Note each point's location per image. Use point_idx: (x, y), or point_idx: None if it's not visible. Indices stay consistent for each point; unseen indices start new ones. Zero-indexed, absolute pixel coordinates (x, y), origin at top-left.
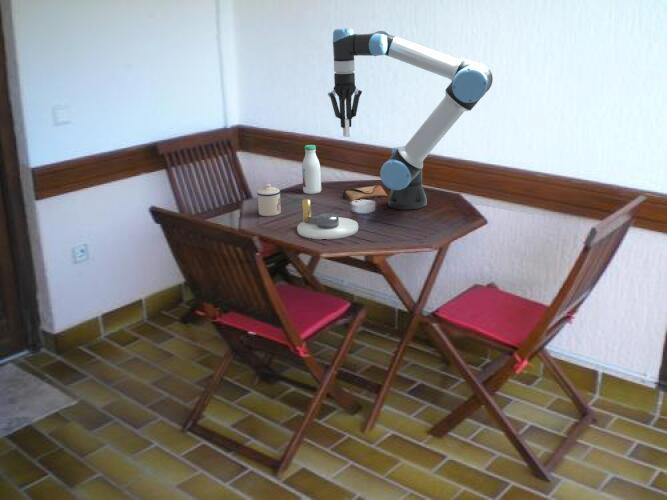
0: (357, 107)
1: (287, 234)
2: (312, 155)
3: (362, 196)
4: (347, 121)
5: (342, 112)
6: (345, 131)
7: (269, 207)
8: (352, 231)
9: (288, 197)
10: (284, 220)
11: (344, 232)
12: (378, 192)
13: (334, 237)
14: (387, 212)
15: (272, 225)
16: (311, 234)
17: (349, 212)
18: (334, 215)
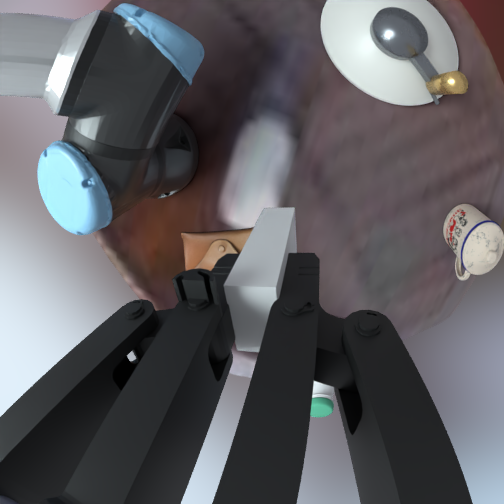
0: (53, 367)
1: (472, 65)
2: (320, 385)
3: (240, 234)
4: (250, 272)
5: (304, 375)
6: (291, 228)
7: (479, 211)
8: None
9: (381, 313)
10: (458, 159)
11: None
12: (199, 242)
13: None
14: (216, 106)
15: (485, 140)
16: (436, 10)
17: (305, 141)
18: (382, 28)
